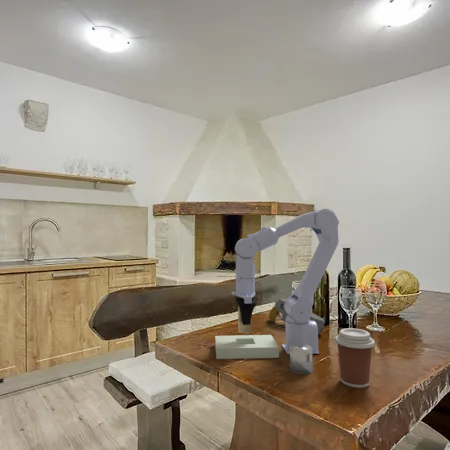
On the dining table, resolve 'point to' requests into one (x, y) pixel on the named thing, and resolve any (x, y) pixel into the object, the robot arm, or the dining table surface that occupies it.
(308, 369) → the round peg
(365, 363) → the coffee cup
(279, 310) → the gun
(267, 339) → the socket plate
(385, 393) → the dining table surface
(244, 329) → the square peg
